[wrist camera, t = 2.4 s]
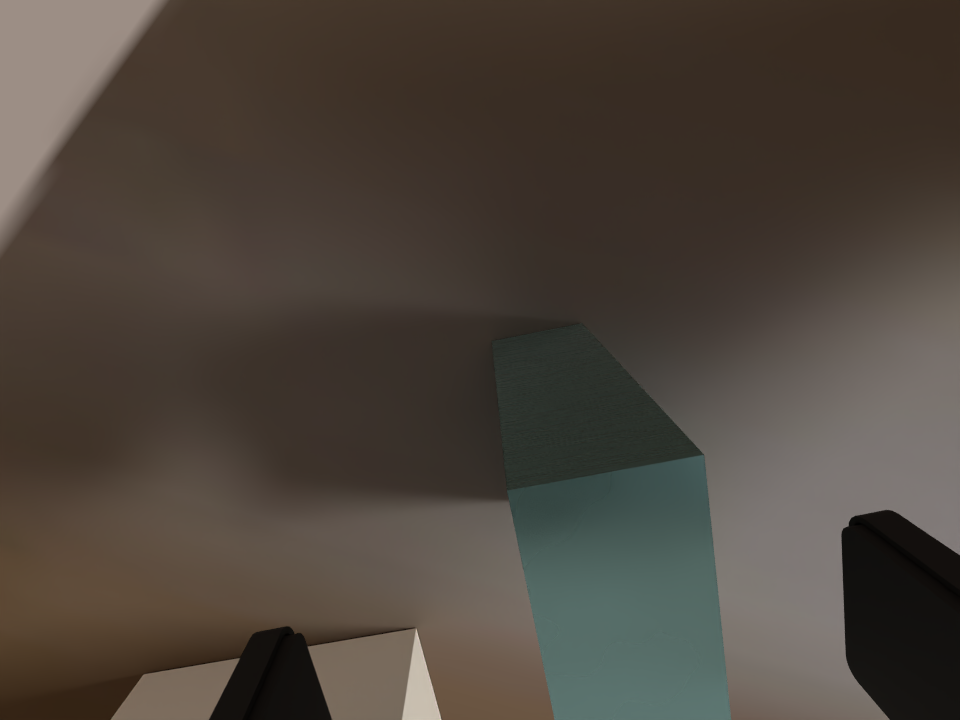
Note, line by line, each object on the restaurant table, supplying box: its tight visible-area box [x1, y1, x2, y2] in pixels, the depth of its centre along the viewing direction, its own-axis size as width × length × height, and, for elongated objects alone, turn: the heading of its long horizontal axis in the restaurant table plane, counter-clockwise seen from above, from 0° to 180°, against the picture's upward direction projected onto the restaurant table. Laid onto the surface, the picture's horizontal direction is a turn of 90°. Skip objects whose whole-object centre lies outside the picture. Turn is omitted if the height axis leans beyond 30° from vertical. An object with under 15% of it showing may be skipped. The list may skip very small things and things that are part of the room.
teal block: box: [492, 323, 731, 720], centre depth 14 cm, size 3×6×10 cm, turn 11°
